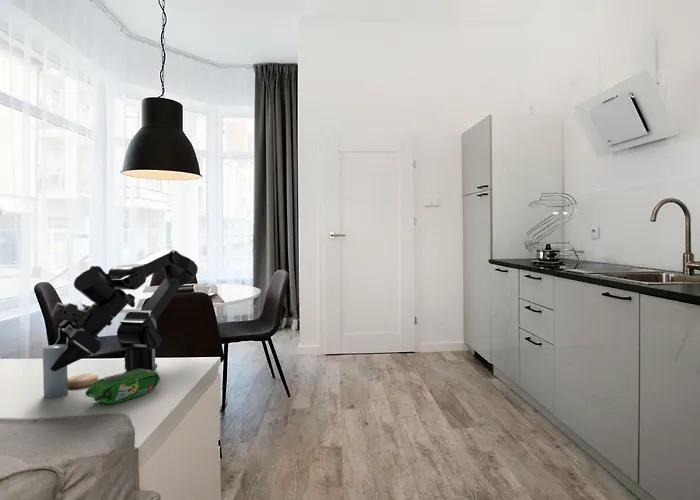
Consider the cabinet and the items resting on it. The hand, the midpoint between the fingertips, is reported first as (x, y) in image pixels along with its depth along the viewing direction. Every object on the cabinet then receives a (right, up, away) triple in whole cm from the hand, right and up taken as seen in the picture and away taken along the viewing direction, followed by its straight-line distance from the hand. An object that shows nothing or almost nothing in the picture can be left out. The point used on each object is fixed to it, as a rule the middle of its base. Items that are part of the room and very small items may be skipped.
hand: (49, 365), depth 96 cm
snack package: (+17, -7, 0) cm, 19 cm away
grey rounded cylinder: (+1, -7, +1) cm, 7 cm away
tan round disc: (+2, -7, +8) cm, 11 cm away
